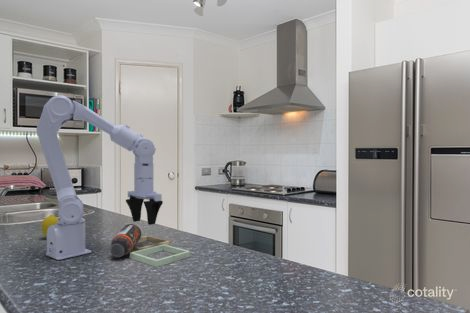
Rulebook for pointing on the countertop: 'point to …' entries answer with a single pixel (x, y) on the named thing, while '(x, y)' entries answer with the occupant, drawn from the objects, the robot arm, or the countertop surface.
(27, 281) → the countertop surface
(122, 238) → the supplement bottle
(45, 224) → the lemon
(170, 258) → the square frame
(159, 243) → the socket collar
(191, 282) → the countertop surface
